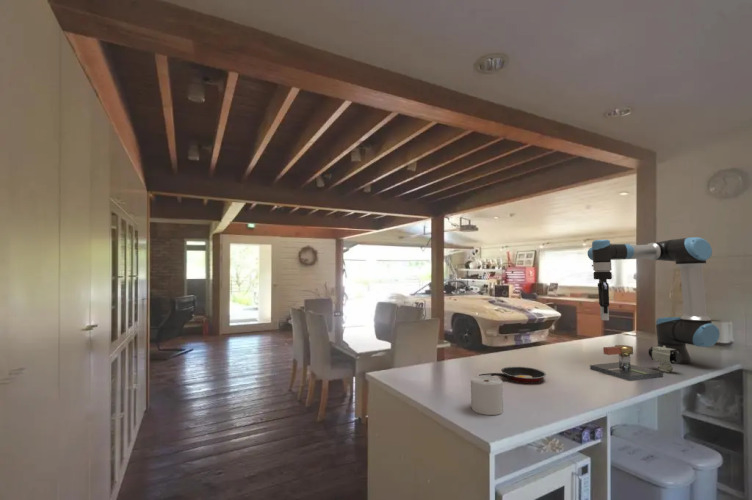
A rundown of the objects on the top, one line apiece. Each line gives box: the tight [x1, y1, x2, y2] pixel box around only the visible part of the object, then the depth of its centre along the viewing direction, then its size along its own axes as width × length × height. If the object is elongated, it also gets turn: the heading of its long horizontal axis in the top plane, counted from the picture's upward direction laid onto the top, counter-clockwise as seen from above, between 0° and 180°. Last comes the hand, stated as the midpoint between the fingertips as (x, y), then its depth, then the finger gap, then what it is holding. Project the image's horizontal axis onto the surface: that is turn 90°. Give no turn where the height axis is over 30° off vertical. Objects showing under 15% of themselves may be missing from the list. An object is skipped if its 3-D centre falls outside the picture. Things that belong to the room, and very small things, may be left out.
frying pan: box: [478, 366, 547, 384], centre depth 156 cm, size 19×32×4 cm, turn 106°
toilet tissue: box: [470, 374, 504, 416], centre depth 123 cm, size 11×12×10 cm
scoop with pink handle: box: [602, 344, 634, 356], centre depth 165 cm, size 14×7×3 cm, turn 106°
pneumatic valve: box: [648, 346, 682, 373], centre depth 168 cm, size 6×12×12 cm, turn 20°
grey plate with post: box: [589, 354, 664, 382], centre depth 166 cm, size 20×20×9 cm
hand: (604, 319), depth 170 cm, fingers open, 3 cm apart
